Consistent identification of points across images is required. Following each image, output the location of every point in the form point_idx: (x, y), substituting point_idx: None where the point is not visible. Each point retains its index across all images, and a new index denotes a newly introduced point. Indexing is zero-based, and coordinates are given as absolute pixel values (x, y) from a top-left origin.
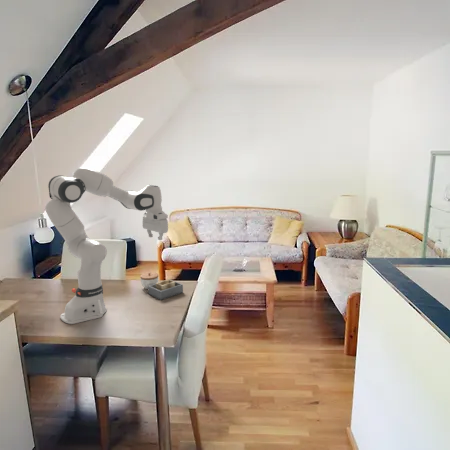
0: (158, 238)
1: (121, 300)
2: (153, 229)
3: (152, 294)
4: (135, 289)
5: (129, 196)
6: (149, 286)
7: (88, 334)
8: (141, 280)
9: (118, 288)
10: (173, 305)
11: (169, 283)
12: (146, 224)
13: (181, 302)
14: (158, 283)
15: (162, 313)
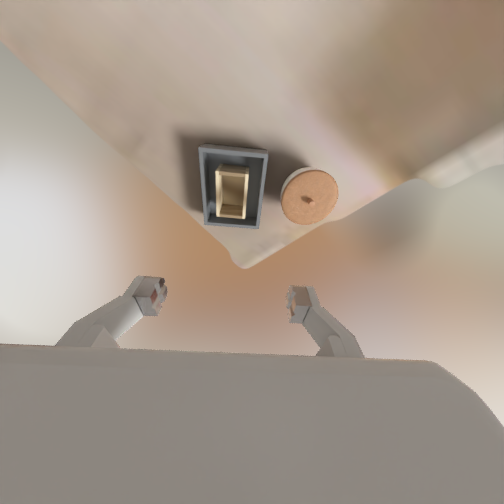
0: (149, 285)
1: (301, 31)
2: (173, 377)
3: (246, 148)
4: (327, 148)
5: None
6: (261, 154)
7: None
8: (318, 169)
9: (386, 114)
10: (148, 140)
11: (216, 198)
12: (397, 460)
13: (155, 170)
14: (245, 180)
15: (104, 64)
